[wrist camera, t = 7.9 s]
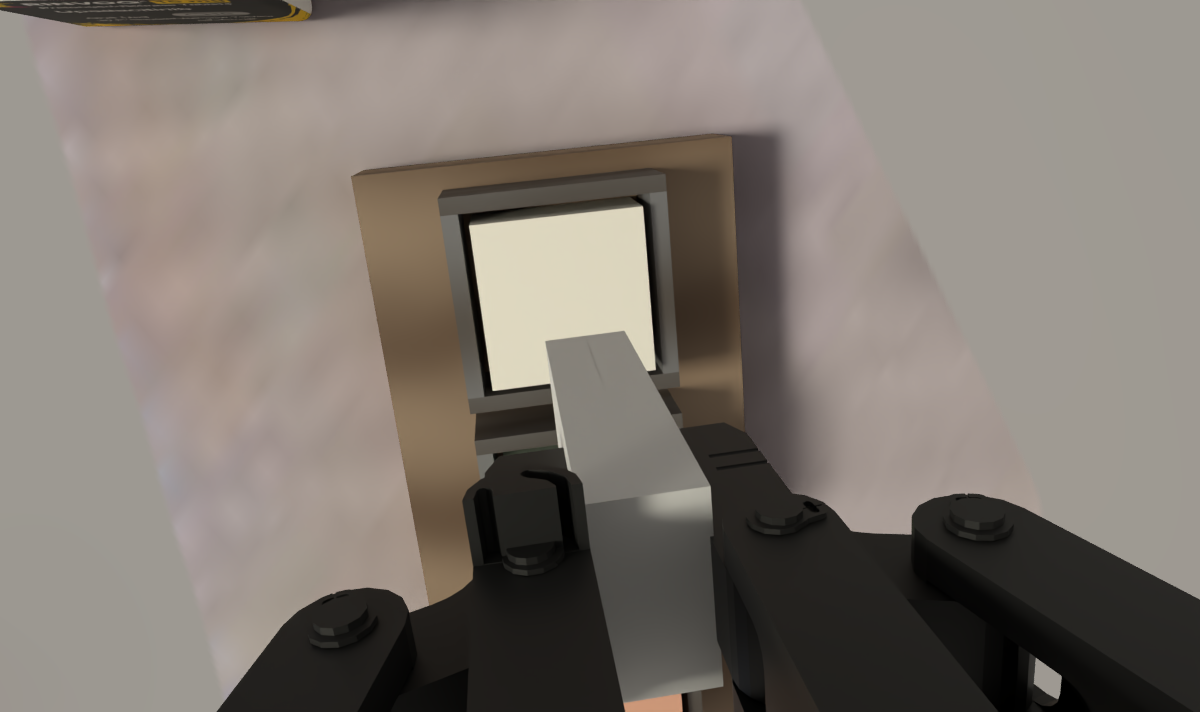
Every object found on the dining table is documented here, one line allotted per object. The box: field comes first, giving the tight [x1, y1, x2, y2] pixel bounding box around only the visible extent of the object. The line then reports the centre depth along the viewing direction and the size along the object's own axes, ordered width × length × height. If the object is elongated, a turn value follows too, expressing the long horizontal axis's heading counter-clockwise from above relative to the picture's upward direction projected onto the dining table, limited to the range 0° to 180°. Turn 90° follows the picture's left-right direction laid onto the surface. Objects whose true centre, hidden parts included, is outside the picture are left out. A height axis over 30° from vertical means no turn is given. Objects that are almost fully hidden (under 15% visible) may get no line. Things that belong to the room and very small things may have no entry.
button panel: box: [351, 134, 745, 712], centre depth 29 cm, size 23×12×5 cm, turn 5°
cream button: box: [469, 197, 656, 391], centre depth 26 cm, size 5×5×2 cm
